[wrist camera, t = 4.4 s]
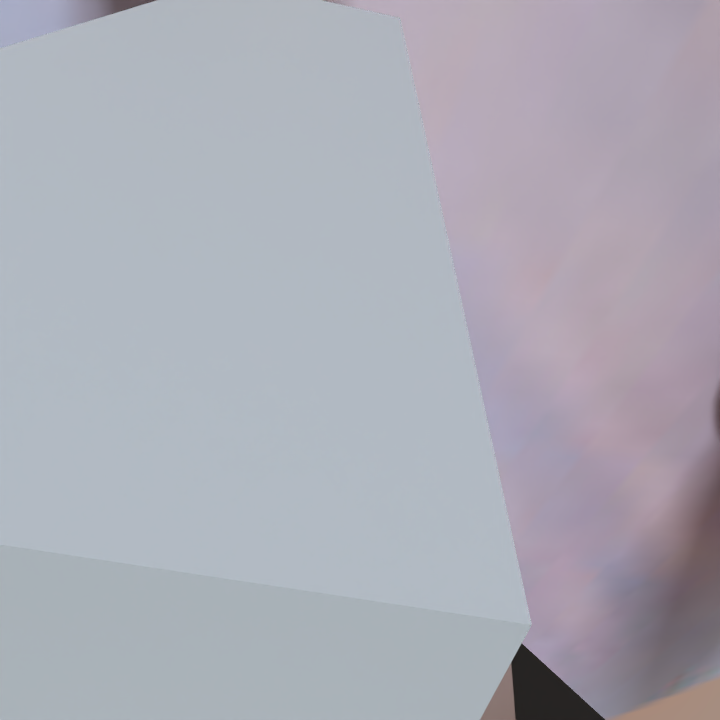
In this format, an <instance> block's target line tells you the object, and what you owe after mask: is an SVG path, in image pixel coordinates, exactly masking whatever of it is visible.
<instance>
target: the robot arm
mask: <svg viewBox="0 0 720 720" xmlns="http://www.w3.org/2000/svg"><path fill="white" fill-rule="evenodd" d="M480 720H605V719H604V718H603V717H601V716H600V715H599V714H598V713H597V712H596V711H595V710H594V709H593V708H592V707H591V706H589V705H588V704H587V703H586V702H585V701H584V700H583V699H582V698H581V697H580V696H579V695H577V694H576V693H575V692H574V691H573V690H572V689H571V688H570V687H569V686H568V685H567V684H565V683H564V682H563V681H562V680H561V679H560V678H559V677H558V676H557V675H556V674H555V673H553V672H552V671H551V670H550V669H549V668H548V667H547V666H546V665H545V664H544V663H542V662H541V661H540V660H539V659H538V658H537V657H536V656H535V655H534V654H533V653H532V652H530V651H529V650H528V649H527V648H526V647H525V646H524V645H523V644H522V643H521V645H520V647H519V649H518V651H517V653H516V654H515V656H514V658H513V660H512V662H511V664H510V665H509V667H508V669H507V671H506V673H505V675H504V676H503V678H502V680H501V682H500V684H499V686H498V687H497V689H496V691H495V693H494V695H493V697H492V698H491V700H490V702H489V704H488V706H487V708H486V709H485V711H484V713H483V715H482V717H481V719H480Z"/></svg>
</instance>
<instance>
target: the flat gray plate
mask: <svg viewBox="0 0 720 720" xmlns="http://www.w3.org/2000/svg"><path fill="white" fill-rule="evenodd" d="M531 625H532V624H531V620H530V615H529V610H528V606H527V601H526V596H525V592H524V587H523V583H522V578H521V573H520V569H519V564H518V560H517V555H516V550H515V546H514V541H513V537H512V532H511V527H510V523H509V518H508V513H507V509H506V504H505V500H504V495H503V490H502V486H501V481H500V477H499V472H498V467H497V463H496V458H495V454H494V449H493V444H492V440H491V435H490V430H489V426H488V421H487V417H486V412H485V407H484V403H483V398H482V394H481V389H480V384H479V380H478V375H477V371H476V366H475V361H474V357H473V352H472V347H471V343H470V338H469V334H468V329H467V324H466V320H465V315H464V311H463V306H462V301H461V297H460V292H459V287H458V283H457V278H456V274H455V269H454V264H453V260H452V255H451V251H450V246H449V241H448V237H447V232H446V228H445V223H444V218H443V214H442V209H441V204H440V200H439V195H438V191H437V186H436V181H435V177H434V172H433V168H432V163H431V158H430V154H429V149H428V145H427V140H426V135H425V131H424V126H423V121H422V117H421V112H420V108H419V103H418V98H417V94H416V89H415V85H414V80H413V75H412V71H411V66H410V62H409V57H408V52H407V48H406V43H405V38H404V34H403V29H402V25H401V20H400V18H398V17H394V16H389V15H385V14H381V13H376V12H372V11H367V10H363V9H358V8H354V7H350V6H345V5H341V4H336V3H332V2H327V1H323V0H156V1H153V2H150V3H147V4H143V5H140V6H137V7H133V8H130V9H127V10H124V11H120V12H117V13H114V14H111V15H107V16H104V17H101V18H97V19H94V20H91V21H88V22H84V23H81V24H78V25H75V26H71V27H68V28H65V29H61V30H58V31H55V32H52V33H48V34H45V35H42V36H39V37H35V38H32V39H29V40H25V41H22V42H19V43H16V44H12V45H9V46H6V47H3V48H0V720H480V719H481V717H482V715H483V713H484V711H485V709H486V708H487V706H488V704H489V702H490V700H491V698H492V697H493V695H494V693H495V691H496V689H497V687H498V686H499V684H500V682H501V680H502V678H503V676H504V675H505V673H506V671H507V669H508V667H509V665H510V664H511V662H512V660H513V658H514V656H515V654H516V653H517V651H518V649H519V647H520V645H521V643H522V642H523V640H524V638H525V636H526V634H527V632H528V631H529V629H530V627H531Z"/></svg>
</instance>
